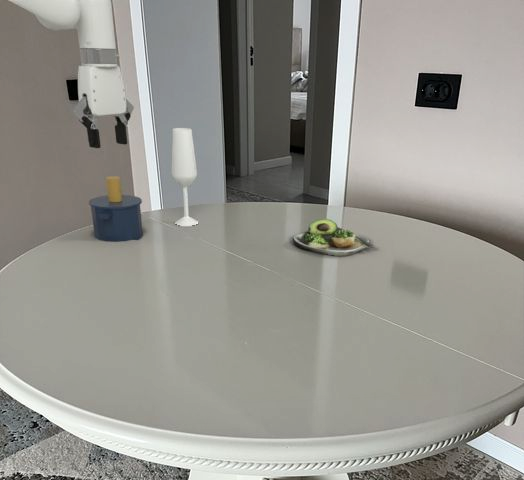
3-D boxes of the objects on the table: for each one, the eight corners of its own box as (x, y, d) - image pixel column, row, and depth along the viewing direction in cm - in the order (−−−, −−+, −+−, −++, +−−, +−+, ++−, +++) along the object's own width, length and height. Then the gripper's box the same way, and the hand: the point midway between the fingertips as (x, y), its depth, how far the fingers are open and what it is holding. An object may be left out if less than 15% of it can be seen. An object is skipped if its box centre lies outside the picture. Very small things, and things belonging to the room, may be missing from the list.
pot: (83, 246, 127) (78, 210, 123) (108, 226, 142) (104, 193, 138) (131, 248, 126) (127, 212, 122) (150, 228, 141) (148, 195, 137)
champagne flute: (172, 220, 148) (166, 127, 136) (195, 219, 150) (192, 127, 138) (177, 227, 142) (171, 131, 131) (201, 225, 144) (198, 130, 133)
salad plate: (389, 246, 132) (391, 227, 130) (351, 264, 120) (353, 244, 117) (324, 230, 142) (325, 213, 140) (283, 245, 130) (284, 227, 128)
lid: (80, 210, 125) (76, 181, 122) (100, 198, 136) (96, 171, 133) (133, 212, 124) (130, 184, 121) (148, 200, 135) (146, 173, 132)
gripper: (118, 58, 123) (126, 140, 132) (53, 58, 111) (67, 148, 119) (141, 59, 119) (147, 143, 128) (76, 58, 107) (88, 151, 115)
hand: (108, 145), depth 124 cm, fingers open, 7 cm apart
